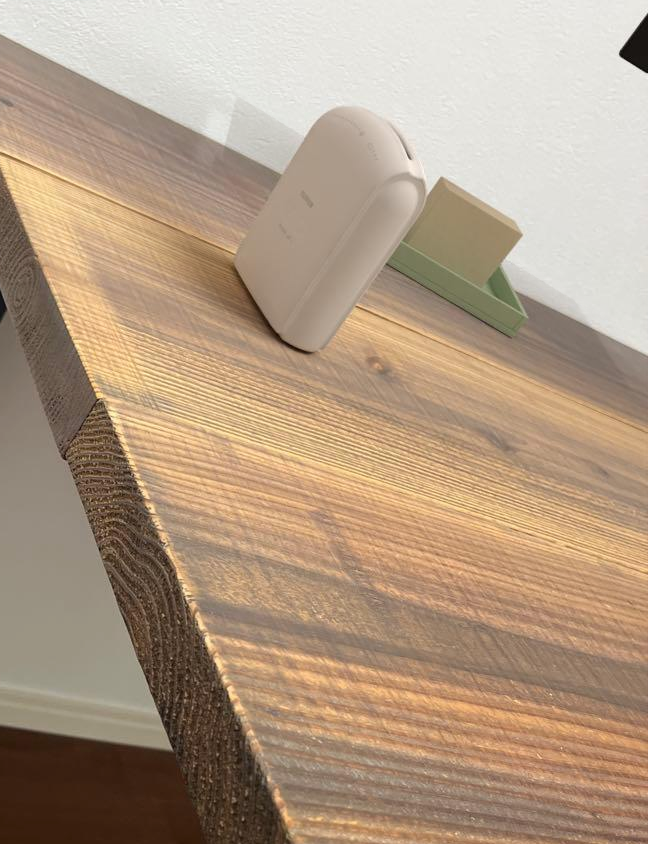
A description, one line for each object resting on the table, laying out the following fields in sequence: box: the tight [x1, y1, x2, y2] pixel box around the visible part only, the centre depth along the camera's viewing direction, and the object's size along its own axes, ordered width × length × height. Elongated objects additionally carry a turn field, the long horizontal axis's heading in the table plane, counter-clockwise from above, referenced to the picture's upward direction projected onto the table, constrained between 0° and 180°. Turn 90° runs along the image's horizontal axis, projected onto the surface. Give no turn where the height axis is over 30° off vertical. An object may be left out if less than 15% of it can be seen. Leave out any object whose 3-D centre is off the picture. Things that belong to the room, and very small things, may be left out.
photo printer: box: [233, 105, 428, 353], centre depth 61 cm, size 10×4×12 cm, turn 13°
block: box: [402, 175, 524, 288], centre depth 92 cm, size 4×8×6 cm, turn 80°
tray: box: [385, 241, 530, 339], centre depth 93 cm, size 14×15×2 cm
